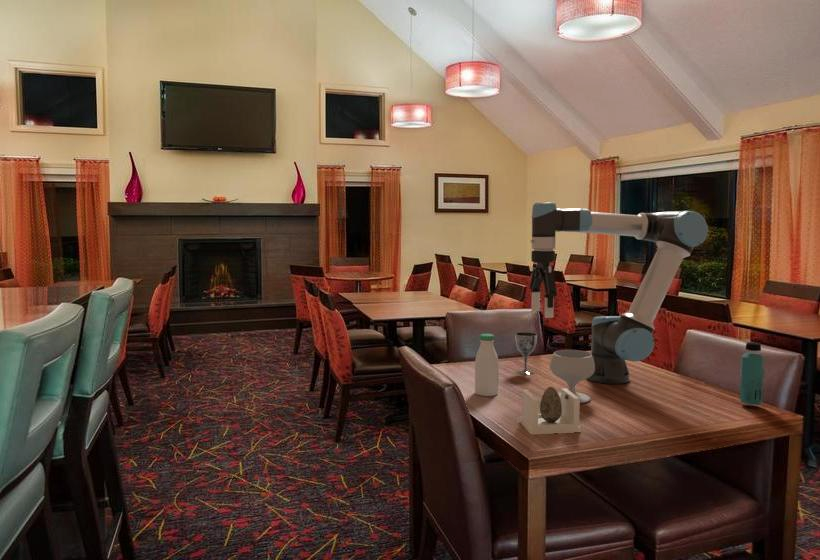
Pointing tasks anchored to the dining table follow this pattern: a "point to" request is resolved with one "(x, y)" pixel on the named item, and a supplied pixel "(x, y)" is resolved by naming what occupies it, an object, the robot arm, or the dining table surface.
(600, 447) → the dining table surface
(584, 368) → the chalice
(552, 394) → the decorative egg
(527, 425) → the holder
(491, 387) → the milk bottle
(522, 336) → the wine glass
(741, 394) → the beverage bottle
